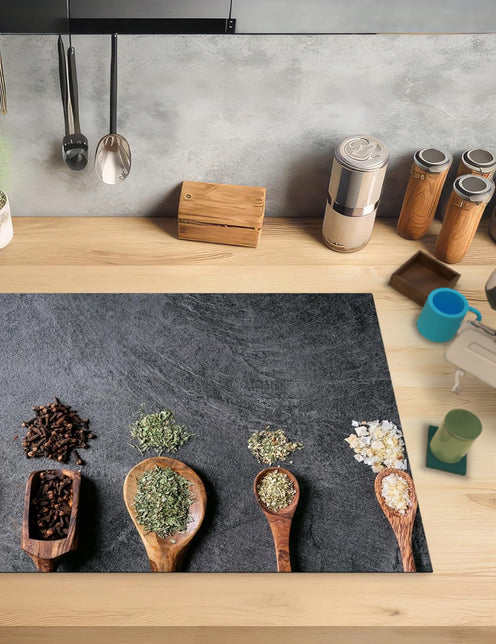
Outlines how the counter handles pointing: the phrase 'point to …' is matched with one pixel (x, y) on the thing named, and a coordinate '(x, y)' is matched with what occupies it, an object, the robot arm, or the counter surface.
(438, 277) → the tray
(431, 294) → the mug
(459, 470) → the mat
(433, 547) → the counter surface
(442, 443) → the green pot
